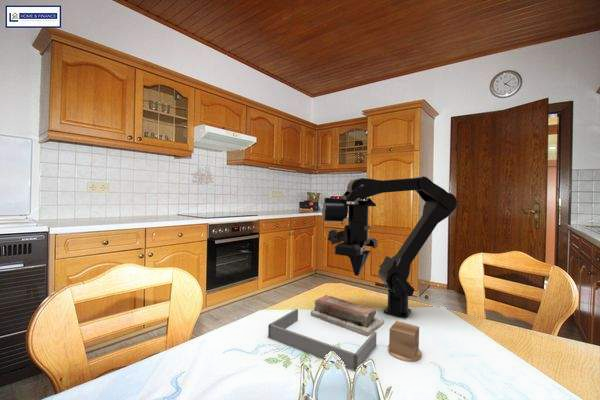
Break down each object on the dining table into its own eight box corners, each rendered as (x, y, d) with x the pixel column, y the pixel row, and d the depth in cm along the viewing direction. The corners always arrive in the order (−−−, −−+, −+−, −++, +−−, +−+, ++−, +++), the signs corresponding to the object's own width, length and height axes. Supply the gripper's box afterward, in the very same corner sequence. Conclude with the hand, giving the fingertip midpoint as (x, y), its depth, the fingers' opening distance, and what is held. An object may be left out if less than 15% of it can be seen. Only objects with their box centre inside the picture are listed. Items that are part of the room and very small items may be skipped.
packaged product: (309, 299, 79) (329, 291, 87) (309, 316, 79) (329, 306, 87) (368, 318, 68) (385, 307, 75) (367, 338, 68) (384, 325, 76)
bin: (296, 319, 76) (296, 308, 76) (376, 345, 64) (376, 332, 64) (268, 337, 67) (268, 324, 67) (356, 371, 54) (356, 355, 54)
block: (395, 342, 65) (396, 320, 65) (418, 349, 62) (419, 326, 62) (389, 351, 61) (389, 328, 61) (413, 359, 58) (414, 335, 58)
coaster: (392, 340, 66) (392, 338, 66) (424, 350, 62) (424, 348, 62) (383, 354, 61) (383, 352, 61) (417, 365, 57) (417, 363, 57)
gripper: (345, 218, 94) (344, 264, 94) (317, 222, 78) (316, 278, 78) (378, 220, 88) (377, 270, 88) (356, 225, 72) (354, 285, 72)
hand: (356, 275), depth 82 cm, fingers closed
